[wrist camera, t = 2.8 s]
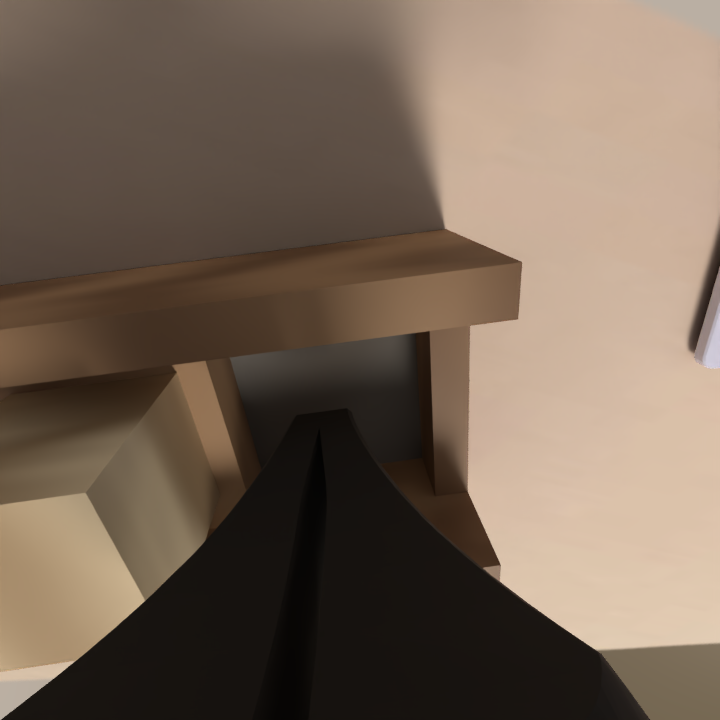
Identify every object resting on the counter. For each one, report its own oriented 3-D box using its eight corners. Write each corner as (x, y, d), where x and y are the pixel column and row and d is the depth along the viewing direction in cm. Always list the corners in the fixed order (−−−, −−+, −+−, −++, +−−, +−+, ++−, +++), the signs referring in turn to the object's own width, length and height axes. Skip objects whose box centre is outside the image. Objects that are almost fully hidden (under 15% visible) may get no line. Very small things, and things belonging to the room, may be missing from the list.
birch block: (176, 372, 9) (86, 492, 6) (220, 494, 11) (170, 646, 8) (10, 394, 9) (-188, 531, 6) (79, 515, 11) (-39, 677, 7)
